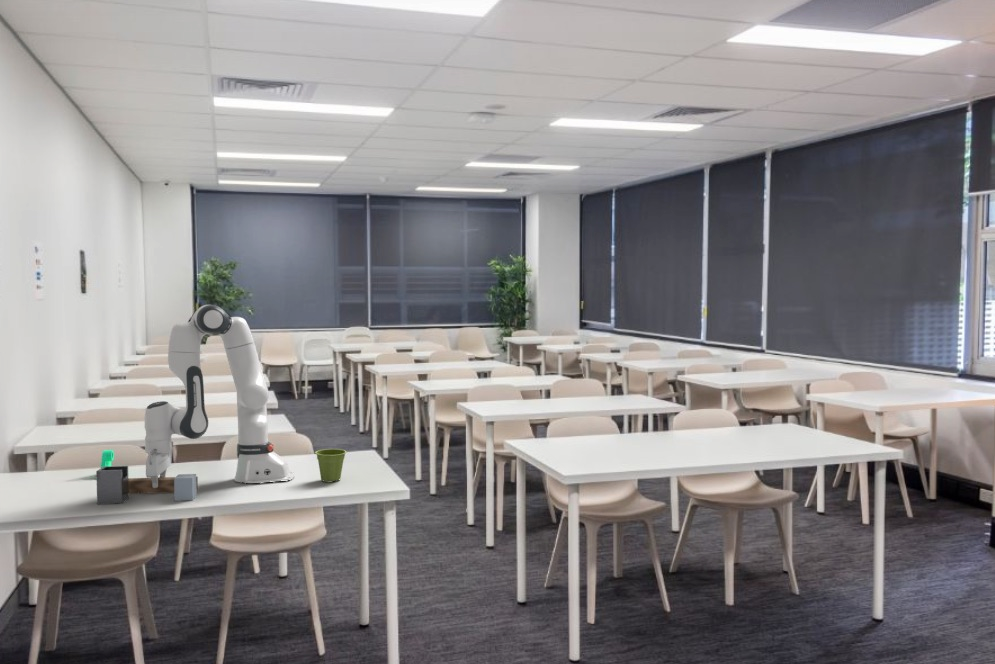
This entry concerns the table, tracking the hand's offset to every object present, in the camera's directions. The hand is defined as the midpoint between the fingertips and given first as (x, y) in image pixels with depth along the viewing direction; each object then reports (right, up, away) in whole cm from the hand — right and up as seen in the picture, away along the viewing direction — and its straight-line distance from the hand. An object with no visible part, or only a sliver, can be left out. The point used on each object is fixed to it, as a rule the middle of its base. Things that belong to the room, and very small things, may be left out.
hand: (159, 484), depth 284 cm
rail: (0, -3, 0) cm, 3 cm away
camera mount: (-29, -2, +26) cm, 39 cm away
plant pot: (+59, -2, +17) cm, 62 cm away
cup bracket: (-10, -3, -14) cm, 17 cm away
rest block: (+14, -3, -10) cm, 17 cm away
